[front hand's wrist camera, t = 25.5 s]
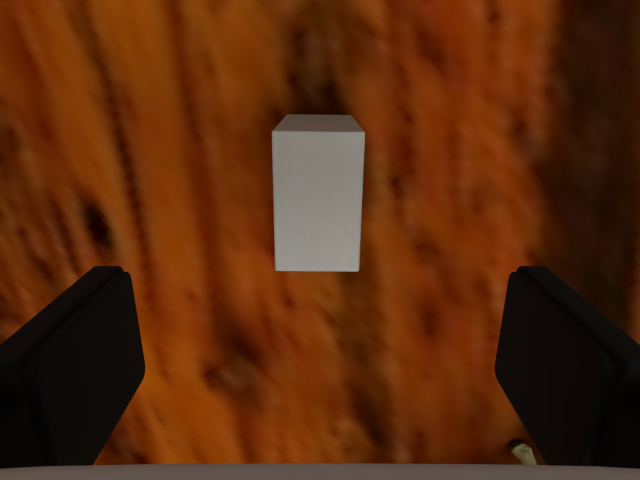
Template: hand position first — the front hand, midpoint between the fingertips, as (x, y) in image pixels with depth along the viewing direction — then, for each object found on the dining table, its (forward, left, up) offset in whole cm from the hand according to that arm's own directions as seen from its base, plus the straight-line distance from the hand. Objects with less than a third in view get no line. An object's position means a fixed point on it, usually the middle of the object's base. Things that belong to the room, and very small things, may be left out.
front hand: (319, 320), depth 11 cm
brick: (0, 0, -21) cm, 21 cm away
